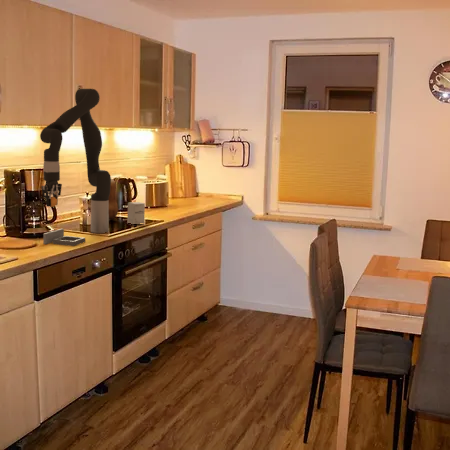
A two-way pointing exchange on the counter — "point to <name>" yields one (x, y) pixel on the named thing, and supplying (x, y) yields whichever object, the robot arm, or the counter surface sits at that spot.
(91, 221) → the robot arm
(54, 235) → the wall
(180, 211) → the counter surface
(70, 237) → the tray
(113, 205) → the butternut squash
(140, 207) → the supplement box
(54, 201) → the ball
